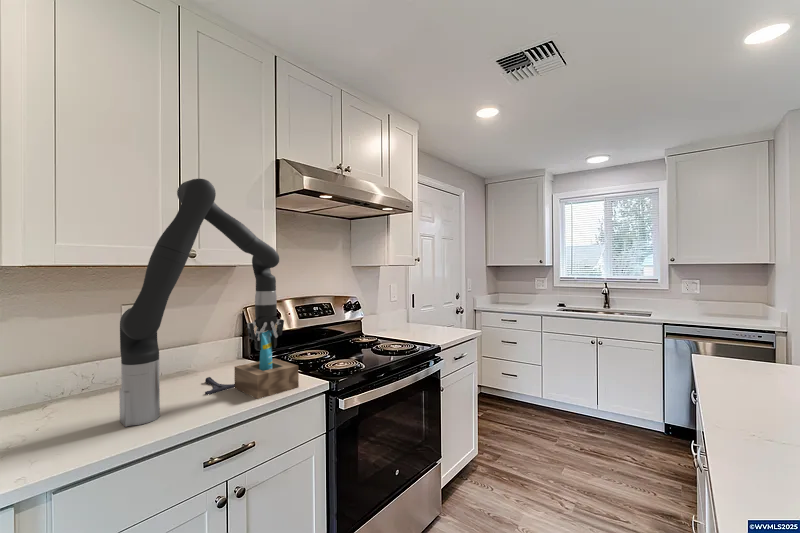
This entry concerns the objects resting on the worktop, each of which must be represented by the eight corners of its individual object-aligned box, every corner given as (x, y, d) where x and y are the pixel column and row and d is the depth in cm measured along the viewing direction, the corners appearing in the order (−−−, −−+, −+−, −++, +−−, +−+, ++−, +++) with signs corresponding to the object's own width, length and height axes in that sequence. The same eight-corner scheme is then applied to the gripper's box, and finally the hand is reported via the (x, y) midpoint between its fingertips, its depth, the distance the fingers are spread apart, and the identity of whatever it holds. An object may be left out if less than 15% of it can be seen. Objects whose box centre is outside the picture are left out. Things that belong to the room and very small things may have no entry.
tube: (269, 385, 136) (269, 332, 136) (255, 386, 136) (255, 332, 136) (275, 379, 143) (275, 328, 143) (262, 379, 143) (262, 329, 143)
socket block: (257, 398, 128) (257, 375, 128) (234, 388, 139) (234, 366, 139) (298, 387, 140) (298, 365, 140) (274, 378, 151) (274, 358, 151)
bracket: (225, 379, 152) (224, 372, 152) (245, 386, 144) (245, 378, 144) (187, 389, 141) (187, 381, 141) (207, 397, 132) (207, 389, 132)
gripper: (252, 305, 131) (252, 354, 131) (288, 302, 142) (289, 347, 142) (242, 304, 136) (242, 350, 136) (278, 301, 147) (278, 344, 147)
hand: (266, 348), depth 139 cm, fingers closed on tube, 5 cm apart
